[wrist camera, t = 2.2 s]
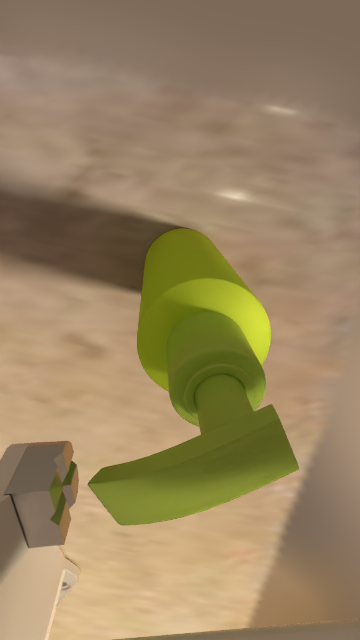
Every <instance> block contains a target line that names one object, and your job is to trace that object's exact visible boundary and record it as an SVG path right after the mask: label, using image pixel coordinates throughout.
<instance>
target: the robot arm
mask: <svg viewBox="0 0 360 640" xmlns="http://www.w3.org/2000/svg"><path fill="white" fill-rule="evenodd" d="M73 453H74V451H73V448H72V444H71V442H69V441H58V442H36V443H24V444H12V445H10V446H9V447H8V448H7V449H6V451H5V453H4V455H3V457H2V458H1V460H0V640H48V637H49V633H50V629H51V625H52V621H53V618H54V614H55V610H56V606H57V605H58V604H59V603H60V602H61V601H62V599H63V598H64V597H65V596H66V595H67V594H68V592H69V591H70V590H71V589H72V588H73V587H74V585H75V584H76V583H77V581H78V578H79V574H80V570H79V568H78V567H77V566H76V565H74V564H73V563H72V562H70V561H69V560H68V559H66V558H65V557H64V555H63V554H62V552H61V550H60V548H59V546H58V545H64V543H65V539H66V536H67V532H68V528H69V524H70V521H71V517H70V513H69V508H70V507H71V506H72V505H73V504H74V503H75V501H76V497H77V493H78V482H79V478H78V469H77V465H76V464H75V463H74V462H73V461H71V460H72V456H73ZM114 640H360V619H349V620H337V621H325V622H313V623H302V624H291V625H278V626H267V627H255V628H243V629H232V630H220V631H208V632H197V633H185V634H173V635H161V636H150V637H138V638H126V639H114Z"/></svg>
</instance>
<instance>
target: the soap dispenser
mask: <svg viewBox="0 0 360 640" xmlns="http://www.w3.org/2000/svg"><path fill="white" fill-rule="evenodd" d="M270 341H271V329H270V323H269V319H268V316H267V314H266V311H265V309H264V308H263V306H262V304H261V303H260V302H259V300H258V299H257V298H256V297H255V295H254V294H253V293H252V292H251V290H250V289H249V288H248V287H247V285H246V284H245V283H244V282H243V280H242V279H241V278H240V277H239V275H238V274H237V273H236V272H235V270H234V269H233V268H232V267H231V265H230V264H229V263H228V262H227V260H226V259H225V258H224V257H223V255H222V254H221V253H220V252H219V250H218V249H217V248H216V247H215V245H214V244H213V243H212V242H211V240H210V239H209V238H207V237H206V236H205V235H203V234H202V233H200V232H198V231H195V230H192V229H185V228H181V229H174V230H171V231H168V232H166V233H164V234H162V235H161V236H159V237H158V238H157V239H156V240H155V241H154V242H153V243H152V245H151V246H150V248H149V250H148V252H147V255H146V258H145V265H144V275H143V285H142V294H141V304H140V313H139V323H138V332H137V350H138V355H139V359H140V361H141V364H142V366H143V368H144V369H145V371H146V373H147V374H148V375H149V377H150V378H151V379H152V380H153V381H154V382H155V383H156V384H158V385H159V386H160V387H162V388H163V389H165V390H167V391H169V395H170V399H171V402H172V405H173V407H174V409H175V410H176V412H177V413H178V414H179V415H180V416H181V417H182V418H183V419H185V420H186V421H188V422H189V423H191V424H194V425H196V426H199V427H200V431H201V435H200V436H197V437H195V438H193V439H190V440H188V441H186V442H184V443H181V444H179V445H176V446H174V447H172V448H169V449H167V450H164V451H161V452H159V453H156V454H153V455H150V456H147V457H144V458H141V459H138V460H134V461H131V462H127V463H122V464H118V465H113V466H108V467H104V468H102V469H100V471H99V472H98V473H97V474H96V475H95V476H94V477H93V478H92V479H91V480H90V482H89V483H88V486H89V487H90V488H91V490H92V491H93V492H94V494H95V495H96V496H97V498H98V499H99V500H100V501H101V503H102V504H103V505H104V507H105V508H106V509H107V510H108V512H109V513H110V514H111V515H112V517H113V518H114V519H115V520H116V522H117V523H118V524H120V525H139V524H148V523H156V522H162V521H167V520H172V519H177V518H181V517H185V516H188V515H192V514H195V513H198V512H201V511H204V510H207V509H210V508H213V507H216V506H218V505H221V504H223V503H226V502H228V501H231V500H233V499H235V498H238V497H240V496H242V495H245V494H247V493H249V492H251V491H254V490H256V489H258V488H260V487H262V486H265V485H267V484H269V483H271V482H273V481H275V480H277V479H280V478H282V477H284V476H286V475H288V474H290V473H292V472H294V471H296V470H298V469H299V466H298V463H297V461H296V458H295V456H294V453H293V451H292V448H291V446H290V444H289V441H288V439H287V436H286V434H285V431H284V429H283V426H282V424H281V421H280V419H279V417H278V415H277V413H276V411H275V409H274V407H273V405H272V404H271V405H268V406H266V407H264V408H262V409H259V410H257V411H255V410H256V409H257V408H258V406H259V405H260V403H261V401H262V399H263V397H264V394H265V389H266V379H265V374H264V371H263V368H262V364H263V363H264V361H265V359H266V356H267V354H268V351H269V347H270ZM254 411H255V412H254Z"/></svg>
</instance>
